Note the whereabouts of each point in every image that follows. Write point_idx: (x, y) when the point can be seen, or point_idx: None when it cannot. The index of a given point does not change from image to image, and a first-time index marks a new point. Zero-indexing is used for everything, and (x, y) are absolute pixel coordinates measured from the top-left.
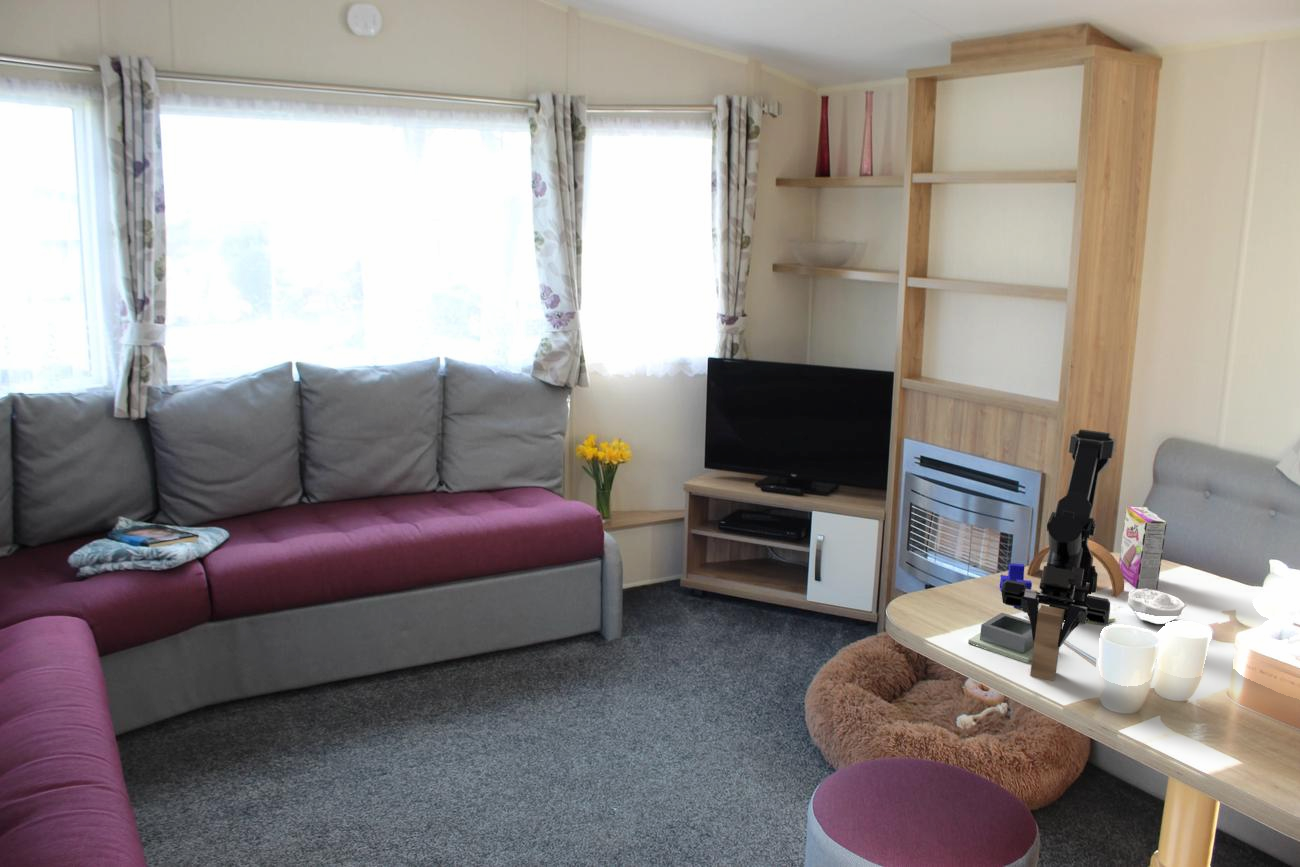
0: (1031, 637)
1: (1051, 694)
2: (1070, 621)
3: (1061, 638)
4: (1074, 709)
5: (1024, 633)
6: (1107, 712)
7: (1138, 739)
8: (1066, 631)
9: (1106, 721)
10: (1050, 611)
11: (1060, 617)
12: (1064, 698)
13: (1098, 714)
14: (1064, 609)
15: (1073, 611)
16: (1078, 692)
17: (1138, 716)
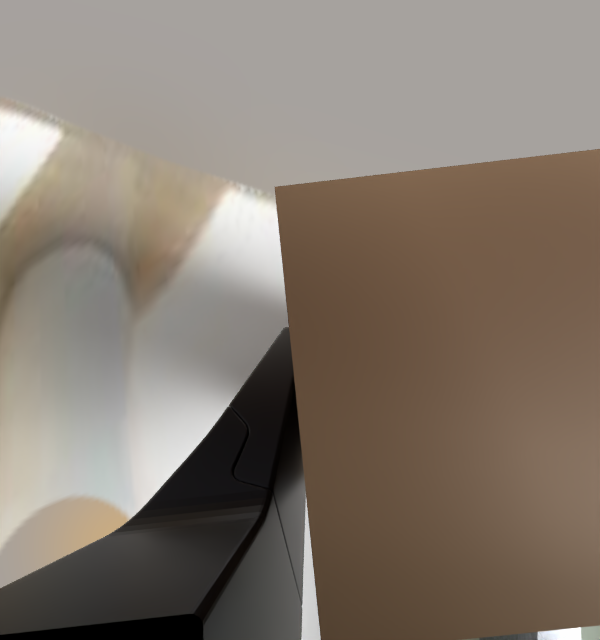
0: (523, 638)
1: (279, 237)
2: (206, 467)
3: (282, 345)
4: (193, 181)
5: (579, 634)
6: (98, 224)
7: (8, 118)
8: (249, 385)
9: (96, 165)
10: (514, 299)
11: (289, 193)
12: (235, 235)
13: (122, 194)
14: (321, 637)
15: (99, 579)
16: (203, 311)
17: (6, 257)
